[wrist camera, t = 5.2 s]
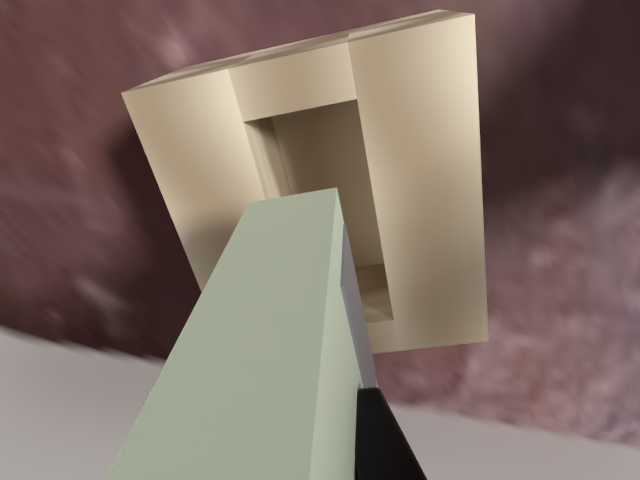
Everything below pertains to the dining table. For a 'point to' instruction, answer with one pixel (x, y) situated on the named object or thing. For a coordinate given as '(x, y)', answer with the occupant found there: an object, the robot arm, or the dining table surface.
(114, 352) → the dining table surface
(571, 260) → the dining table surface
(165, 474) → the green rectangular block
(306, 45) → the hollow square frame
